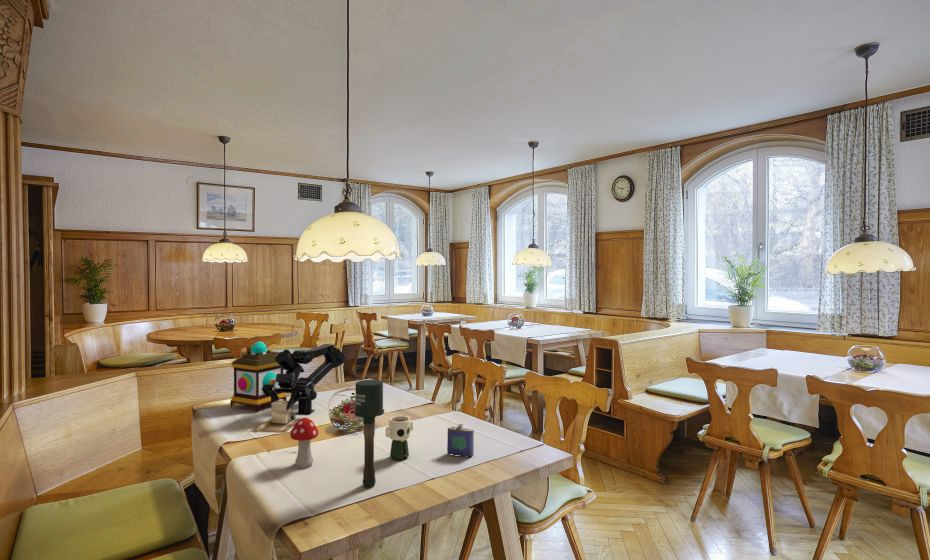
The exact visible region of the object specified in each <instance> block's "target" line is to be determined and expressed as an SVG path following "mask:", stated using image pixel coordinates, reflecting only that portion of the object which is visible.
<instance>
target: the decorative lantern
mask: <svg viewBox="0 0 930 560" xmlns="http://www.w3.org/2000/svg"><path fill="white" fill-rule="evenodd" d="M276 356H277V354H273V352H271V351H270V350H268V348H267V345H266V344H265V343H264V342H263V341H256V342H255V343H253V344H252V345H251V348H250V351H248V352H247V353H246V354H244V355H243V356H241V357H237V358H236V359H235V360H233V361H232V362H231V363H230V364H231V366H232V367H233V394H232V395H233V396H232V397H231V399H230V408H231V409H234V408H235V406H236V404H240V405H247V406H252V407H254V409H255V413H258V412H259V411H260V407H261V406H263V405H266V404H267V405H268V404H271V397H267V396H265V394H264V393H263V391H262V390H261V389H262V387H263V385H265V384H273V385H274V387H276V388H280V386H278V382H275V380H276V375H277V374H284V369H282V368H281V367H280V365H279V364H278V363H277V362H276V361H275V357H276ZM277 396H278V397H279V398H278V401H288V400H287V395H286V393H278V394H277Z"/></svg>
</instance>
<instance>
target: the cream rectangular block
mask: <svg viewBox="0 0 930 560" xmlns="http://www.w3.org/2000/svg"><path fill="white" fill-rule="evenodd" d="M288 402H289V400H286V401H282V400H278V401H277V400H276V401H274V402H273V403H272V409H271V418H272V423H287V422H289V421H291V414H292V413H291V411H292V410H291V409H292V407H291V408H290V409H289V410H287V409H286V408H287V405H288Z"/></svg>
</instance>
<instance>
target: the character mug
mask: <svg viewBox="0 0 930 560" xmlns="http://www.w3.org/2000/svg"><path fill="white" fill-rule="evenodd" d="M413 430H414V422H413V420H411V417H410V416H406V415H396V416H392V417H391V416H390V418H389V419H388V426H386V427H385V437H386V438H389V439H390V440H391V445H390V453H389V457H391V458H392V459H394V460H404V459H405V458H409V456H410V451H409V444H408V440H409V438H410V436H411V431H413Z"/></svg>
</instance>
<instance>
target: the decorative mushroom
mask: <svg viewBox="0 0 930 560" xmlns="http://www.w3.org/2000/svg"><path fill="white" fill-rule="evenodd" d="M300 418H301V419H299V420H298V421H297V422H296V423H295V425H294V427H292V428H291V429H290V433H289V435H290V438H291V439H292V440H295V441H298V447H297V448H298V449H297V455H296V457H295V461H294V462H295V465H296V467H297V468H298V469H308V467H309V468H311V467H312V466H313V462H314V458H313V456H312V450H311V440H313V439H316V438H317V437H319V436H318V435H319V430H318V427H317V426H316V425H315V423H314V421H313V419H311V418H308V417H300Z"/></svg>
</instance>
